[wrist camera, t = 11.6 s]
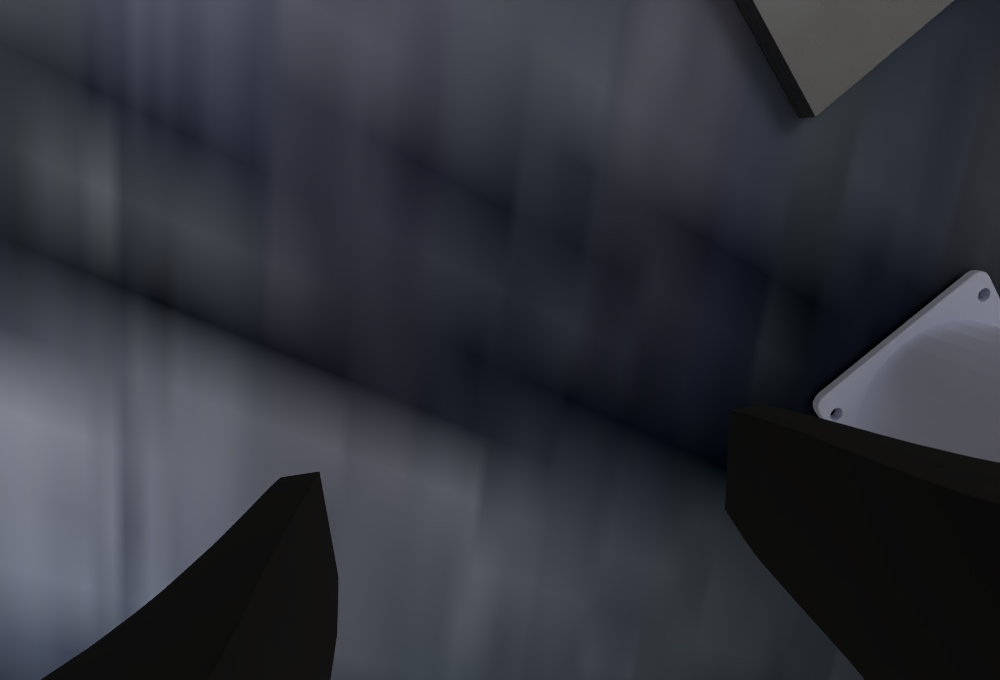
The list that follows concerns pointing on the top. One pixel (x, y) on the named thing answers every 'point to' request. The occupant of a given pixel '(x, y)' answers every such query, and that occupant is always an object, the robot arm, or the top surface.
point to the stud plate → (831, 41)
